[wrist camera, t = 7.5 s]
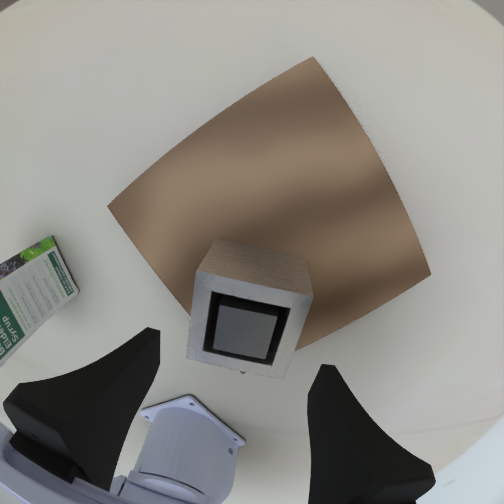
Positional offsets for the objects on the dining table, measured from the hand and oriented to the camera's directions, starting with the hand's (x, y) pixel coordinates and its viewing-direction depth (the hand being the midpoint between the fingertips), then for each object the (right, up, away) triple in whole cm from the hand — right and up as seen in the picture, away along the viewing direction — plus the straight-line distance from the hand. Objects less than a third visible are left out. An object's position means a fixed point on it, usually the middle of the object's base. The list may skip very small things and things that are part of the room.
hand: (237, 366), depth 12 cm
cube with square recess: (+1, +3, +7) cm, 7 cm away
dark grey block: (+1, +3, +7) cm, 7 cm away
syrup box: (-18, +3, +10) cm, 21 cm away
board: (+2, +6, +7) cm, 10 cm away
